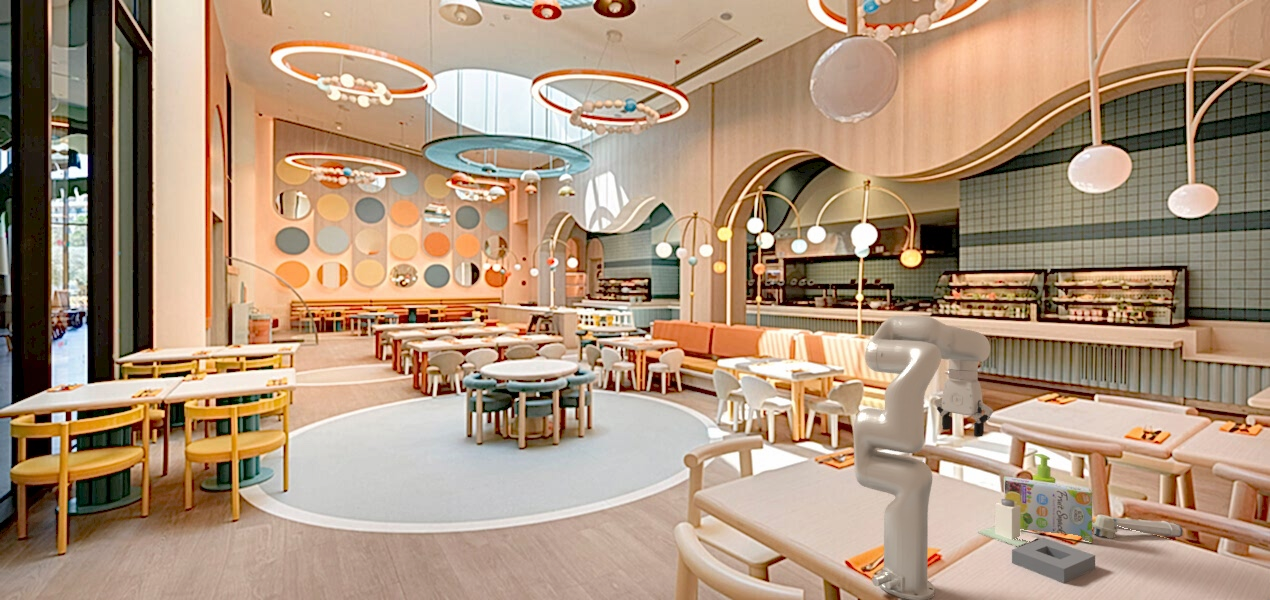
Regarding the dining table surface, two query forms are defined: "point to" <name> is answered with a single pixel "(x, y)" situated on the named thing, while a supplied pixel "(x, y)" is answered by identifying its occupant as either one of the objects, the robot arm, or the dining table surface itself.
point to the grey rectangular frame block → (1053, 560)
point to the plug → (1007, 519)
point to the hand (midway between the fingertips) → (962, 432)
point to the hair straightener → (1134, 526)
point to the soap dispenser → (1043, 470)
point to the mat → (1001, 537)
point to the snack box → (1051, 506)
